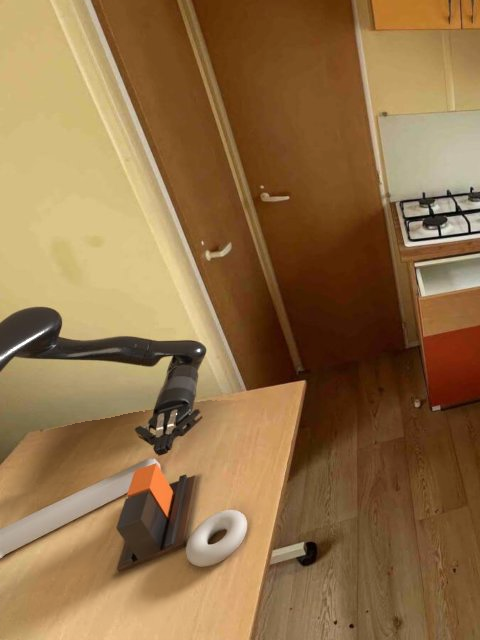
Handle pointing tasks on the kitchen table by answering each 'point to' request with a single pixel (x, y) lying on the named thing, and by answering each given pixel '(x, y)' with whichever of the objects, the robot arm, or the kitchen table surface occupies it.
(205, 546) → the donut
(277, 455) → the kitchen table surface
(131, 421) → the kitchen table surface
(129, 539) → the dark brown slotted holder
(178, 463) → the kitchen table surface
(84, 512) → the tube
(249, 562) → the kitchen table surface
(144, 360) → the robot arm
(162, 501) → the orange rectangular block
